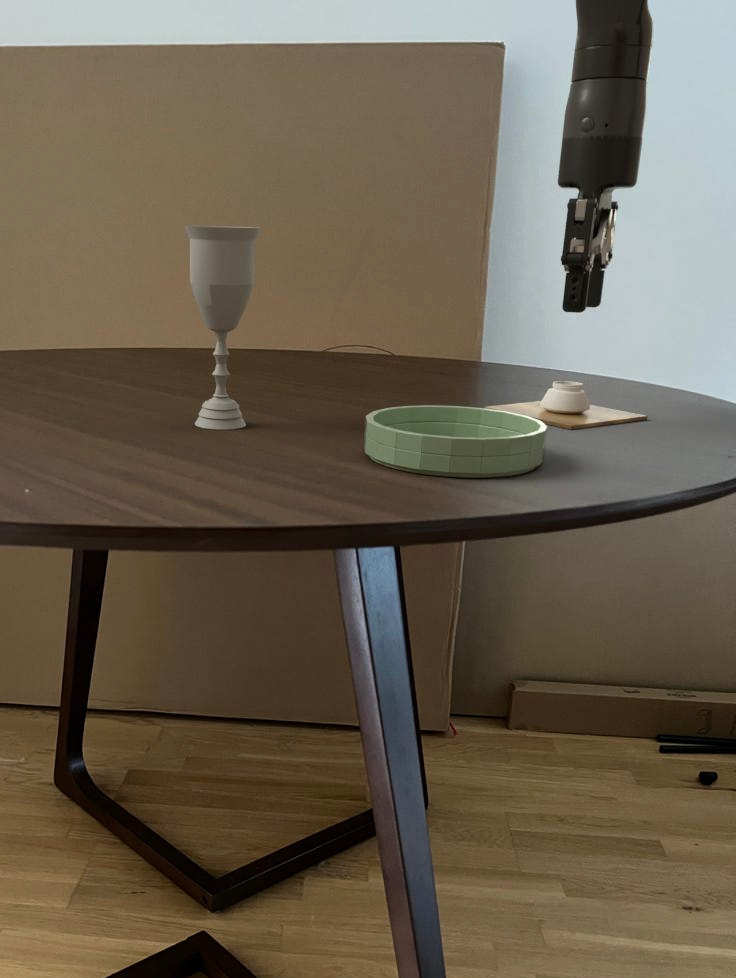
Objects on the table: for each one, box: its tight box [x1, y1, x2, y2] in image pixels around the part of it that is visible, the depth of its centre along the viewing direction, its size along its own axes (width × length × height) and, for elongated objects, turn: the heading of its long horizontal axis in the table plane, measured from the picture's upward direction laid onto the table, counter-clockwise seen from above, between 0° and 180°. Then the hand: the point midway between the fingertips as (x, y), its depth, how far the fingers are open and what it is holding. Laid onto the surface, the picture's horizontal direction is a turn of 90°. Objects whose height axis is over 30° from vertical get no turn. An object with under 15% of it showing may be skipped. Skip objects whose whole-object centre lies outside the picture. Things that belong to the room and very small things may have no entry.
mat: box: [484, 400, 649, 430], centre depth 110 cm, size 12×12×1 cm
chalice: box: [184, 225, 261, 430], centre depth 97 cm, size 7×7×18 cm
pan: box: [363, 404, 549, 479], centre depth 88 cm, size 15×15×3 cm
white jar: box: [540, 380, 591, 414], centre depth 109 cm, size 5×3×5 cm
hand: (581, 309), depth 106 cm, fingers open, 8 cm apart
